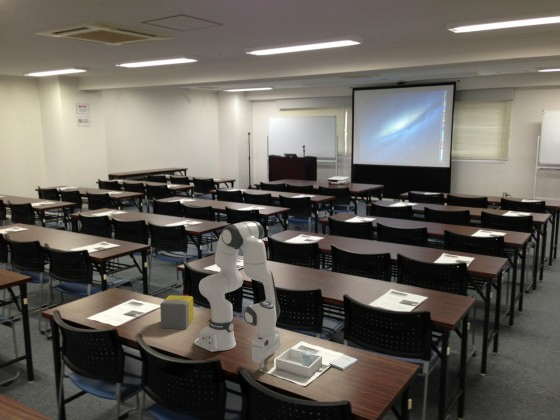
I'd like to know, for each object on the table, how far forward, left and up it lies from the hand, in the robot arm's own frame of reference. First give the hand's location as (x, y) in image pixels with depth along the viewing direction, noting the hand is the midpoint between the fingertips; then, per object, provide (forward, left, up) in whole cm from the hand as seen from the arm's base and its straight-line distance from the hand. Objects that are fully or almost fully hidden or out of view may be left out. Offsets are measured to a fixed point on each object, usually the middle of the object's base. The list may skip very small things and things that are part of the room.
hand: (266, 363), depth 219 cm
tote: (+13, +8, -2) cm, 15 cm away
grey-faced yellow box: (-75, +23, -2) cm, 78 cm away
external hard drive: (+30, +22, -2) cm, 37 cm away
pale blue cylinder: (+17, +7, -1) cm, 19 cm away
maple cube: (0, 0, -2) cm, 2 cm away
